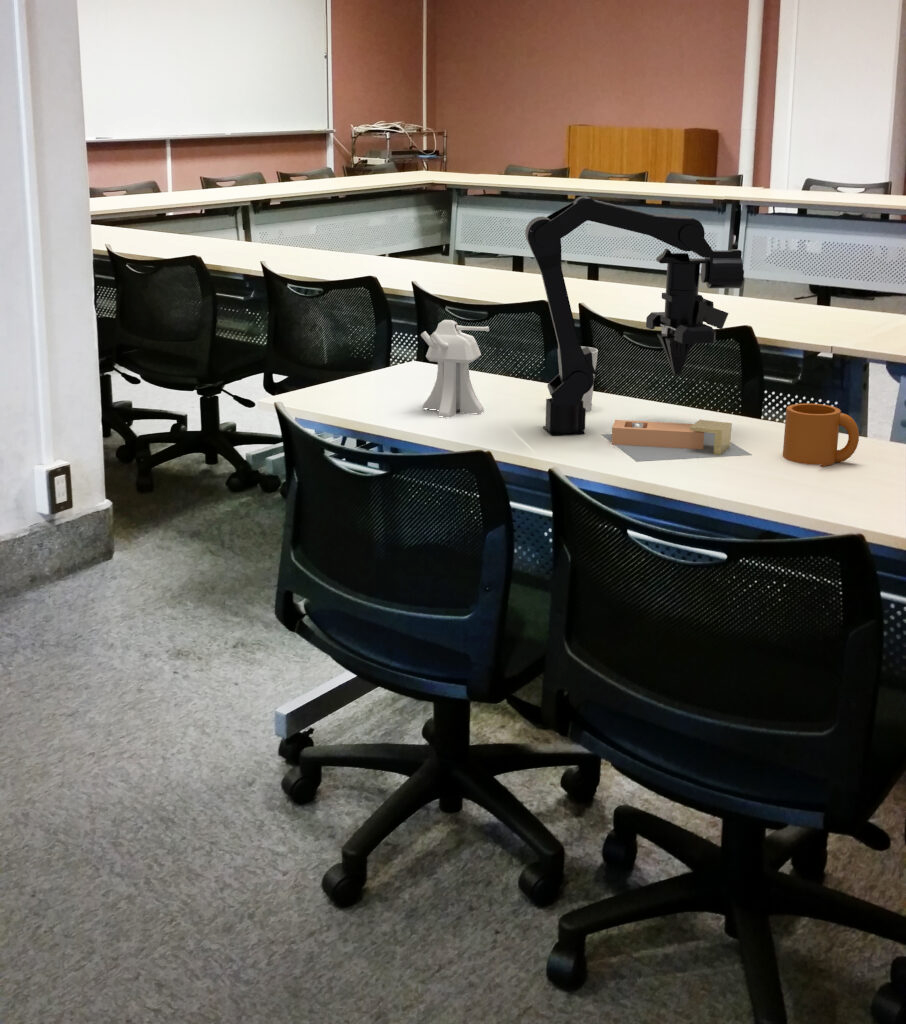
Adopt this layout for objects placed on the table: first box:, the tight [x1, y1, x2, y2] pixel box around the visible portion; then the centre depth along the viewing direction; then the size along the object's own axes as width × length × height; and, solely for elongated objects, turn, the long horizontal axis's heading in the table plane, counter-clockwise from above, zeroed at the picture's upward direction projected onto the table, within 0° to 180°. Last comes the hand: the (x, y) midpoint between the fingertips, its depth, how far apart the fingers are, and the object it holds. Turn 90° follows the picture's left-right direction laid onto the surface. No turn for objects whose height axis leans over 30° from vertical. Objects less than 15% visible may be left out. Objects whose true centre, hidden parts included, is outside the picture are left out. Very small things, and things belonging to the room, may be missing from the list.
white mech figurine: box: [420, 319, 490, 418], centre depth 235 cm, size 12×13×18 cm
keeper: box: [690, 419, 733, 455], centre depth 209 cm, size 6×6×4 cm
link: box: [611, 419, 704, 449], centre depth 213 cm, size 16×6×3 cm, turn 78°
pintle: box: [632, 422, 643, 428], centre depth 215 cm, size 2×2×3 cm
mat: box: [601, 432, 753, 463], centre depth 212 cm, size 21×18×1 cm
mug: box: [782, 403, 860, 467], centre depth 202 cm, size 9×12×9 cm
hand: (676, 374), depth 218 cm, fingers closed
